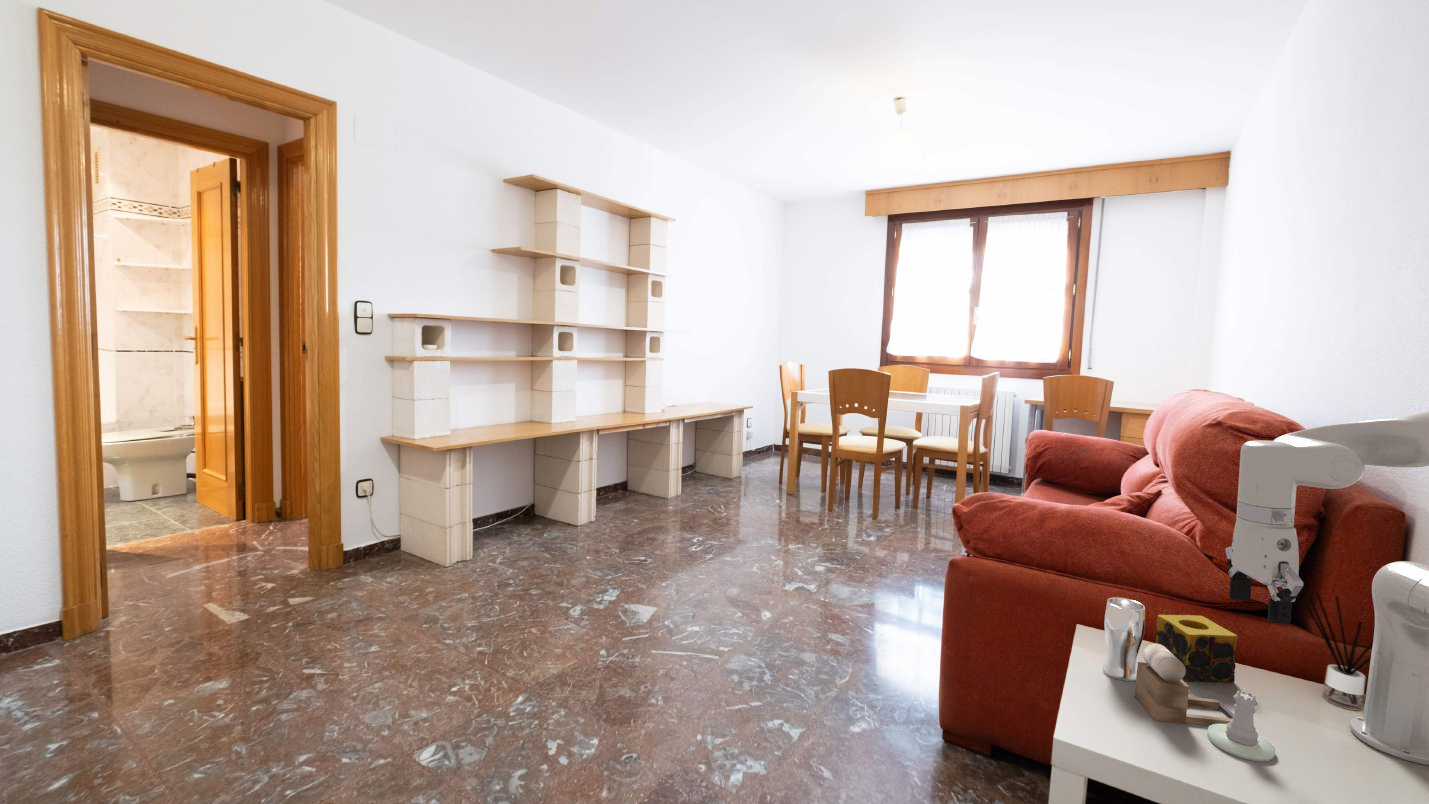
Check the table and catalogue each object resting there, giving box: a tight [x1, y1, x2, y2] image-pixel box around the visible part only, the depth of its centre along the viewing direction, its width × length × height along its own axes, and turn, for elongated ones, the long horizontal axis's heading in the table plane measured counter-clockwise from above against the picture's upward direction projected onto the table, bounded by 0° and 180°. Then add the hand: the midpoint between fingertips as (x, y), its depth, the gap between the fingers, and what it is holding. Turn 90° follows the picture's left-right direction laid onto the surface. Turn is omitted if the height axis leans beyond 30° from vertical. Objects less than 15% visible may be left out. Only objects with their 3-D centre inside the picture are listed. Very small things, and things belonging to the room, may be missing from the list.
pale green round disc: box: [1206, 724, 1276, 763], centre depth 112 cm, size 9×9×1 cm
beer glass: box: [1102, 596, 1146, 682], centre depth 135 cm, size 7×7×15 cm
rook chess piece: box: [1225, 690, 1259, 746], centre depth 112 cm, size 4×4×8 cm
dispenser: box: [1134, 643, 1234, 726], centre depth 121 cm, size 15×8×11 cm, turn 80°
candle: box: [1155, 614, 1239, 683], centre depth 137 cm, size 10×10×10 cm
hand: (1258, 610), depth 114 cm, fingers open, 9 cm apart
